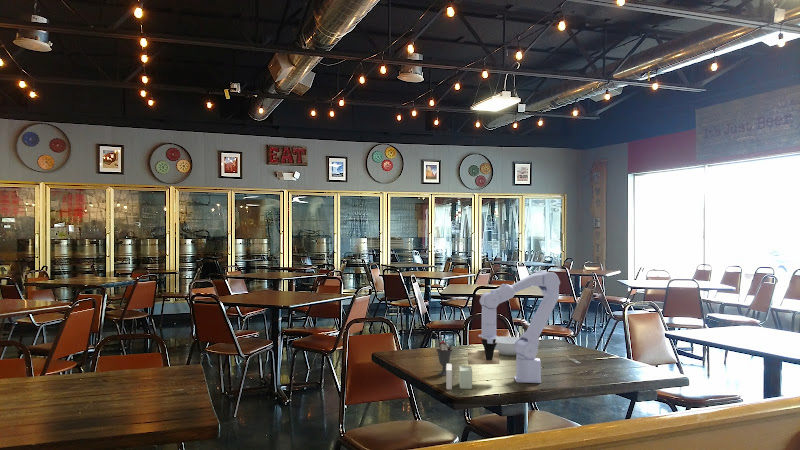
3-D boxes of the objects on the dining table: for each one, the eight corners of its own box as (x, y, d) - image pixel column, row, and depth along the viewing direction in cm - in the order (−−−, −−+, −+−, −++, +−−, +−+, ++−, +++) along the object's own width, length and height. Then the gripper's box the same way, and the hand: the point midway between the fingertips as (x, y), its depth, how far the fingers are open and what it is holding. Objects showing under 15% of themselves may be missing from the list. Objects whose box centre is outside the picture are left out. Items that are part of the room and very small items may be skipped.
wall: (451, 381, 223) (451, 363, 223) (451, 389, 212) (451, 370, 212) (446, 381, 223) (446, 363, 224) (446, 389, 212) (446, 370, 213)
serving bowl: (536, 352, 282) (536, 338, 282) (521, 360, 264) (521, 345, 264) (496, 348, 293) (497, 334, 293) (479, 354, 275) (479, 340, 275)
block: (471, 383, 221) (471, 366, 221) (472, 388, 213) (472, 371, 213) (459, 382, 222) (459, 366, 222) (459, 388, 213) (460, 371, 214)
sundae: (433, 372, 238) (433, 336, 238) (447, 371, 240) (448, 335, 240) (439, 376, 232) (440, 339, 232) (454, 375, 234) (455, 338, 234)
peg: (498, 361, 225) (498, 350, 225) (499, 364, 221) (499, 352, 221) (468, 362, 226) (467, 350, 227) (468, 364, 222) (467, 352, 223)
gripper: (477, 320, 232) (477, 354, 231) (479, 326, 217) (479, 362, 217) (495, 321, 231) (495, 355, 231) (498, 326, 217) (498, 363, 216)
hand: (488, 359), depth 224 cm, fingers closed on peg, 4 cm apart
